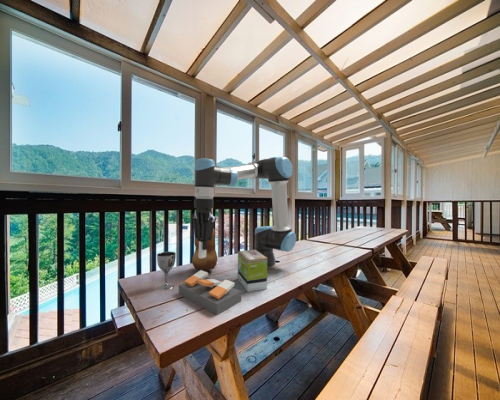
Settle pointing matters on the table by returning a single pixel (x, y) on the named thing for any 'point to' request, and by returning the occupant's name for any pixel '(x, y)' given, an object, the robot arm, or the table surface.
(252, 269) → the tea box
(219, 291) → the switch
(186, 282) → the switch
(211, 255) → the butternut squash
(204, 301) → the power strip
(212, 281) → the switch middle
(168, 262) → the wine glass
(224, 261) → the table surface
